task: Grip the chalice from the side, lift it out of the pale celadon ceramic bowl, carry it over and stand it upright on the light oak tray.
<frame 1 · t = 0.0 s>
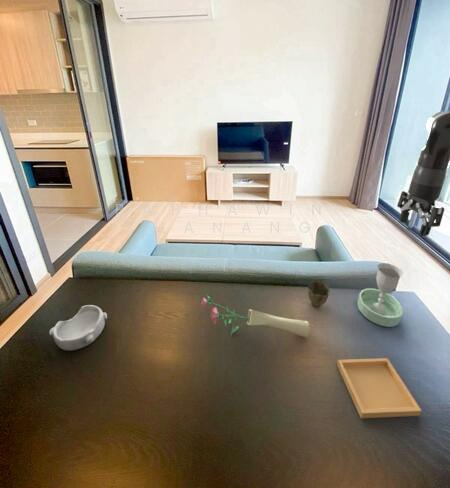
hand: (412, 228, 79), 33 cm above the table, tool pointing down, fingers open, 8 cm apart
chalice: (377, 310, 88), resting on bowl
flower vase: (253, 330, 81), on the table
cup: (315, 304, 91), on the table
bowl: (377, 311, 88), on the table
tray: (374, 387, 65), on the table
dish: (83, 333, 80), on the table
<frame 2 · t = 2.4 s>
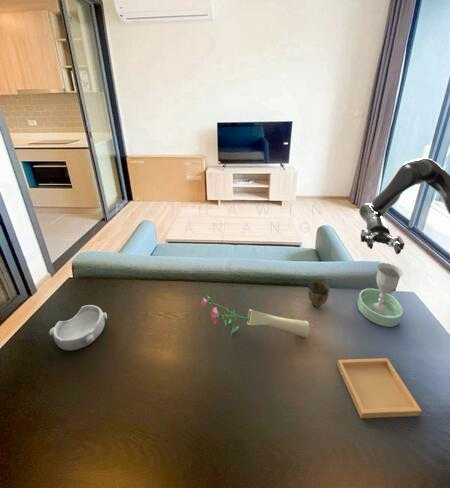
hand: (384, 249, 90), 20 cm above the table, tool horizontal, fingers open, 8 cm apart
nothing on the table moved.
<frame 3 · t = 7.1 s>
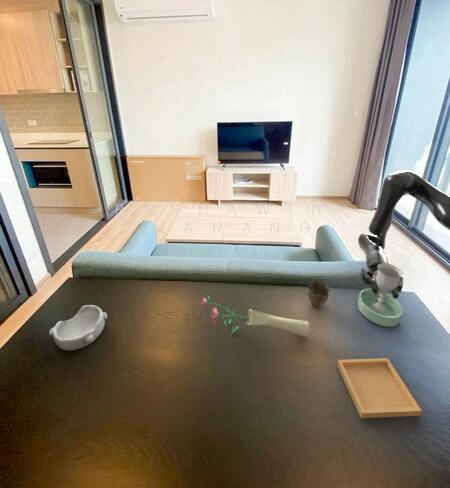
hand: (385, 294, 82), 11 cm above the table, tool horizontal, fingers closed on chalice, 5 cm apart
chalice: (377, 310, 88), resting on bowl, touching gripper
everything else where it was.
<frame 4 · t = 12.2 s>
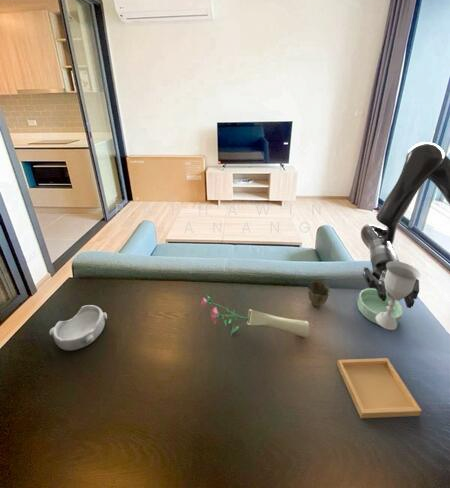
hand: (397, 301, 62), 24 cm above the table, tool horizontal, fingers closed on chalice, 5 cm apart
chalice: (385, 322, 68), point 14 cm above the table, touching gripper
everything else where it was.
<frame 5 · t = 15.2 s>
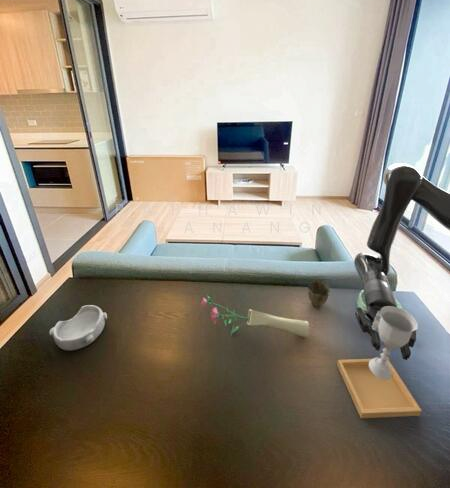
hand: (392, 352, 57), 17 cm above the table, tool horizontal, fingers closed on chalice, 5 cm apart
chalice: (379, 369, 63), point 7 cm above the table, touching gripper
everything else where it was.
when the fingers open (10 cm above the table, at t = 17.5 s): chalice stays where it is, resting on tray.
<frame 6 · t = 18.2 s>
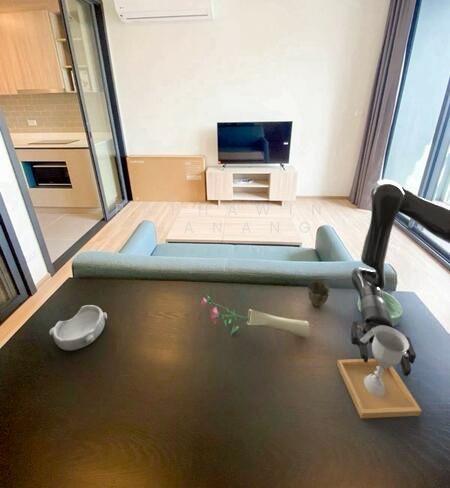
hand: (386, 366, 59), 11 cm above the table, tool horizontal, fingers open, 8 cm apart
chalice: (374, 386, 65), resting on tray
everything else where it was.
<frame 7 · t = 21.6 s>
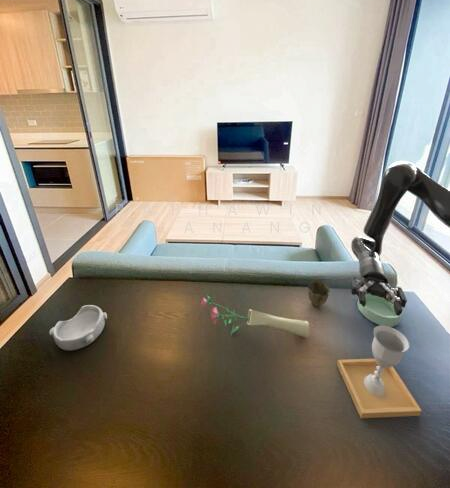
hand: (381, 308, 69), 16 cm above the table, tool horizontal, fingers open, 8 cm apart
nothing on the table moved.
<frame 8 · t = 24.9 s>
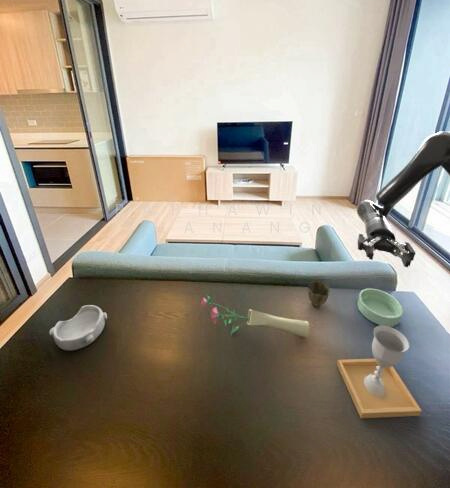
hand: (389, 260, 68), 30 cm above the table, tool horizontal, fingers open, 8 cm apart
nothing on the table moved.
at the end: chalice inside the target area in the tray (0.2 cm from its centre), point 0.3 cm above the tray's base; chalice tilted 0°; the gripper is holding nothing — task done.
